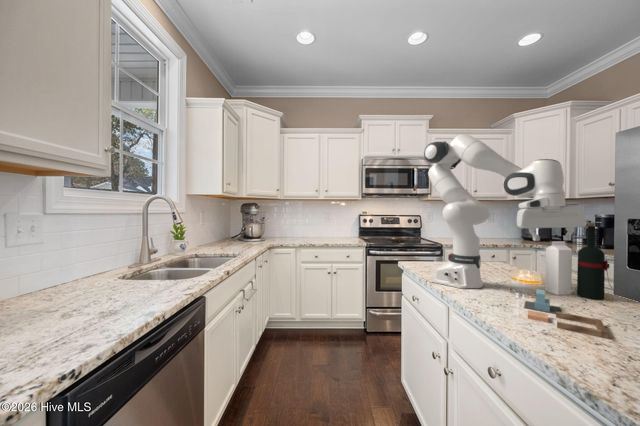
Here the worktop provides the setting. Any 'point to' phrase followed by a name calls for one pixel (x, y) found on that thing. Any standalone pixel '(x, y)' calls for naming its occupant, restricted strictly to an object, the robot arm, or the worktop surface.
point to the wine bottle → (591, 269)
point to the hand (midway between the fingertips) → (551, 240)
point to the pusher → (542, 301)
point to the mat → (532, 307)
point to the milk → (558, 268)
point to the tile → (537, 316)
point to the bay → (580, 329)
